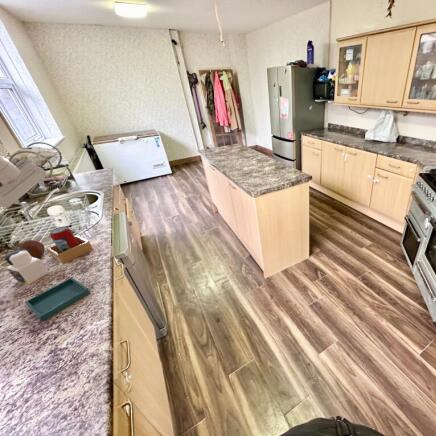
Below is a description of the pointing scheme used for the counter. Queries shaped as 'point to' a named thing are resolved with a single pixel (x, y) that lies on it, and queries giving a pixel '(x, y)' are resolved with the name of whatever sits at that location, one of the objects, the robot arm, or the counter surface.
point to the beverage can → (63, 238)
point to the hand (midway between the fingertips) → (36, 197)
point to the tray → (57, 298)
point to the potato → (33, 248)
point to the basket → (71, 250)
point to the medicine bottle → (25, 266)
